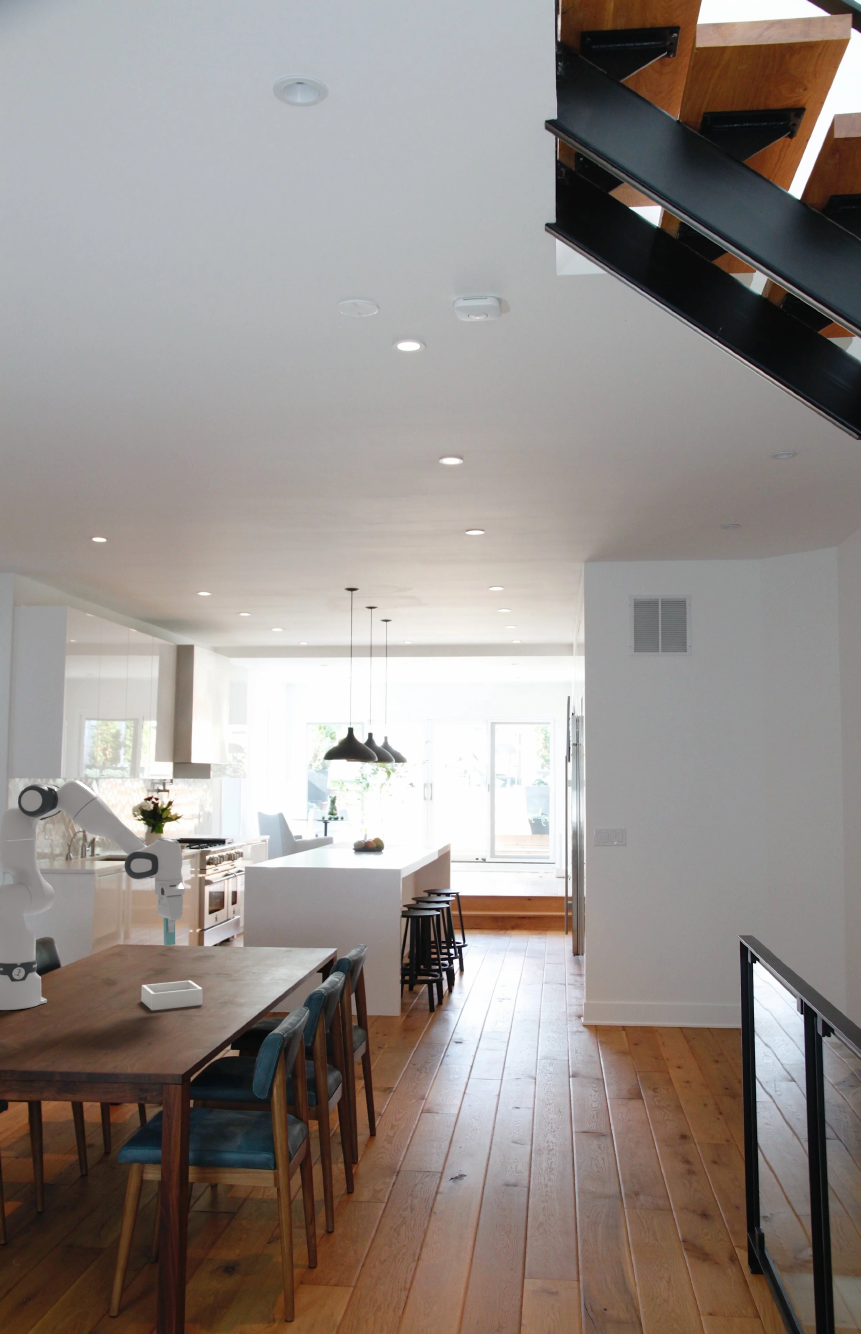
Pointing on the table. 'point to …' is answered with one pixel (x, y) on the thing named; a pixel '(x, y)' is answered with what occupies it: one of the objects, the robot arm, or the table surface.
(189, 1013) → the table surface
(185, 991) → the box
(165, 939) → the peg
